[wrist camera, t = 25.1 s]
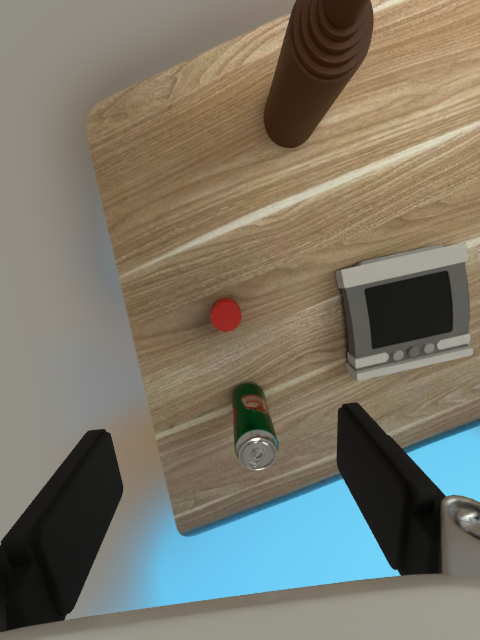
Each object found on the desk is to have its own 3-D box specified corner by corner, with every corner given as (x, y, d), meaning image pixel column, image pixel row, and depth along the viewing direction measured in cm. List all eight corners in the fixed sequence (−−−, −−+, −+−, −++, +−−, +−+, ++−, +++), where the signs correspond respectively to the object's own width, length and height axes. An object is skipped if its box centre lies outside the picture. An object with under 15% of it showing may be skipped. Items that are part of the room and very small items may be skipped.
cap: (213, 326, 36) (212, 332, 33) (210, 299, 35) (209, 303, 32) (240, 323, 36) (242, 330, 33) (238, 296, 35) (240, 300, 32)
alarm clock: (357, 381, 36) (351, 269, 30) (342, 365, 40) (334, 265, 35) (472, 355, 36) (486, 239, 31) (445, 342, 40) (453, 238, 35)
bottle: (254, 131, 30) (291, -19, 14) (279, 74, 29) (351, -164, 13) (299, 157, 31) (383, 48, 15) (325, 104, 30) (447, -80, 14)
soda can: (269, 389, 39) (288, 445, 27) (254, 414, 40) (267, 479, 28) (240, 376, 38) (248, 429, 27) (226, 403, 39) (227, 464, 28)
